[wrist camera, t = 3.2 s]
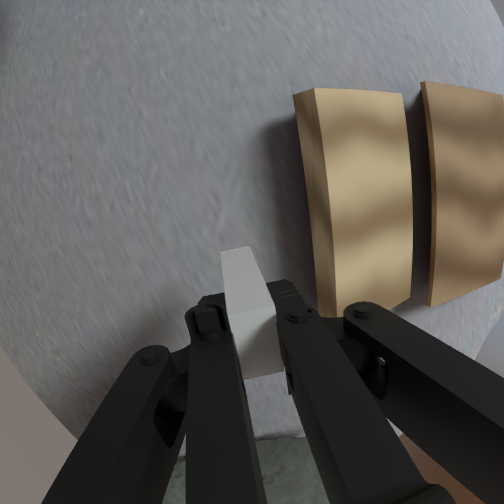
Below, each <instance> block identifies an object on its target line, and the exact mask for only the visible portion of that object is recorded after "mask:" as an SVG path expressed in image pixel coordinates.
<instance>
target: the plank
mask: <svg viewBox="0 0 504 504" xmlns="http://www.w3.org/2000/svg"><path fill="white" fill-rule="evenodd" d="M293 101H294V106H295V113H296V119H297V125H298V131H299V138H300V145H301V152H302V159H303V166H304V173H305V181H306V189H307V197H308V205H309V214H310V223H311V232H312V242H313V253H314V263H315V275H316V287H317V301H318V313H319V314H320V316H321V317H329V318H333V317H343V311H344V309H345V308H346V307H347V306H349V305H350V304H353V303H356V302H362V301H366V302H373V303H375V304H378V305H380V306H381V307H383V308H385V309H387V310H390V309H392V308H393V307H395V306H397V305H398V304H400V303H402V302H403V301H405V300H407V299H408V298H410V290H411V274H412V250H413V206H412V181H411V166H410V154H409V143H408V134H407V126H406V118H405V111H404V104H403V98H402V94H399V93H390V92H380V91H368V90H353V89H329V88H313V89H310V90H307V91H304V92H301V93H298V94H295V95H293Z"/></svg>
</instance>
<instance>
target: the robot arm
mask: <svg viewBox="0 0 504 504" xmlns="http://www.w3.org/2000/svg"><path fill="white" fill-rule="evenodd" d="M220 254H221V264H222V273H223V282H224V291H225V292H224V293H219V294H214V295H208V296H203V297H202V299H201V300H200V301H199V302H198V305H197V306H194V307H192V308H191V309H189V310H188V311H187V312H186V314H185V316H184V317H185V320H186V324H187V327H188V330H189V334H190V337H191V344H190V345H188V346H187V347H185V348H183V349H181V350H178V351H176V352H173V353H170V352H169V350H168V348H166V347H164V346H160V345H153V346H147V347H144V348H142V349H141V350H139V351H137V352H136V353H135V354H134V355H133V356H132V357H131V359H130V360H129V362H128V363H127V365H126V366H125V368H124V370H123V371H122V373H121V374H120V376H119V377H118V379H117V380H116V382H115V383H114V385H113V386H112V388H111V389H110V391H109V393H108V394H107V396H106V397H105V399H104V400H103V402H102V403H101V405H100V407H99V408H98V410H97V411H96V413H95V414H94V416H93V418H92V419H91V421H90V422H89V424H88V426H87V427H86V429H85V430H84V432H83V434H82V435H81V437H80V439H79V440H78V442H77V443H76V445H75V447H74V449H73V450H72V452H71V453H70V455H69V457H68V458H67V460H66V462H65V463H64V465H63V467H62V468H61V470H60V472H59V473H58V475H57V477H56V479H55V480H54V482H53V484H52V486H51V487H50V489H49V491H48V492H47V494H46V496H45V498H44V500H43V501H42V504H162V502H163V499H164V496H165V493H166V490H167V487H168V484H169V481H170V478H171V475H172V472H173V469H174V466H175V463H176V460H177V457H178V454H179V452H180V449H181V446H182V443H183V440H184V437H185V434H186V468H185V498H186V504H268V503H267V498H266V493H265V489H264V484H263V479H262V474H261V469H260V464H259V459H258V454H257V449H256V443H255V438H254V433H253V428H252V422H251V417H250V411H249V406H248V400H247V395H246V389H245V385H244V381H243V380H244V379H249V378H254V377H259V376H263V375H268V374H273V373H277V372H282V371H284V367H285V371H286V378H287V385H288V393H289V395H291V394H292V397H293V400H294V403H295V405H296V408H297V411H298V414H299V417H300V420H301V423H302V426H303V429H304V431H305V434H306V437H307V440H308V443H309V446H310V449H311V452H312V455H313V457H314V460H315V463H316V466H317V469H318V472H319V475H320V477H321V480H322V483H323V486H324V489H325V492H326V494H327V497H328V500H329V503H330V504H456V502H455V501H454V499H453V498H452V496H451V495H450V494H449V492H448V491H447V490H446V489H445V488H444V487H442V486H440V485H439V484H429V483H427V482H426V481H425V480H424V478H423V477H422V475H421V474H420V472H419V470H418V469H417V467H416V465H415V464H414V462H413V461H412V459H411V457H410V456H409V454H408V452H407V451H406V449H405V447H404V446H403V445H402V443H401V441H400V439H399V438H398V436H397V434H396V433H395V431H394V430H393V428H392V426H391V425H390V423H389V422H388V420H387V419H389V420H390V421H391V422H392V423H393V424H394V425H395V426H396V427H397V428H399V429H400V430H401V431H402V432H403V433H404V434H405V435H406V436H407V437H409V438H410V439H411V440H412V441H413V442H414V443H415V444H416V445H418V446H419V447H420V448H421V449H422V450H423V451H424V452H425V453H427V454H428V455H429V456H430V457H432V459H433V460H435V461H436V462H437V463H438V464H439V465H440V466H442V467H443V468H444V469H445V470H446V471H448V473H450V474H451V475H452V476H453V477H454V478H455V479H457V480H458V481H459V482H460V483H461V484H462V485H464V486H465V487H466V488H467V489H468V490H470V491H471V492H472V493H473V494H474V495H475V496H477V497H478V498H479V499H480V500H482V501H483V502H484V503H485V504H504V378H503V377H501V376H499V375H497V374H496V373H494V372H493V371H491V370H489V369H488V368H486V367H484V366H483V365H481V364H479V363H478V362H476V361H474V360H473V359H471V358H469V357H468V356H466V355H464V354H462V353H461V352H459V351H457V350H456V349H454V348H452V347H451V346H449V345H447V344H445V343H444V342H442V341H440V340H439V339H437V338H435V337H434V336H432V335H430V334H428V333H427V332H425V331H423V330H421V329H420V328H418V327H416V326H415V325H413V324H411V323H409V322H408V321H406V320H404V319H402V318H401V317H399V316H397V315H395V314H394V313H392V312H390V311H388V310H387V309H385V308H383V307H381V306H380V305H378V304H375V303H373V302H366V301H362V302H356V303H353V304H350V305H349V306H347V307H346V308H345V309H344V311H343V317H333V318H329V317H321V316H320V314H319V313H318V311H316V310H315V309H314V308H311V307H308V306H307V305H306V304H305V302H304V301H303V299H302V297H301V296H300V294H299V293H298V291H297V290H296V288H295V286H294V285H293V283H291V282H289V281H287V280H285V279H284V280H279V281H274V282H269V283H265V281H264V279H263V277H262V274H261V272H260V270H259V267H258V265H257V263H256V260H255V258H254V256H253V253H252V251H251V249H250V246H247V247H242V248H237V249H231V250H226V251H221V252H220ZM380 357H381V358H382V359H383V360H384V361H385V362H384V361H383V360H381V359H380ZM283 364H284V366H283Z"/></svg>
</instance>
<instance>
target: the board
mask: <svg viewBox="0 0 504 504" xmlns="http://www.w3.org/2000/svg"><path fill="white" fill-rule="evenodd" d="M420 85H421V91H422V97H423V103H424V110H425V117H426V125H427V134H428V144H429V155H430V170H431V194H432V234H431V257H430V272H429V284H428V294H427V303H426V305H427V306H429V307H430V308H431V307H434V306H437V305H439V304H442V303H444V302H447V301H450V300H452V299H455V298H457V297H459V296H462V295H464V294H467V293H469V292H471V291H474V290H476V289H478V288H481V287H483V286H485V285H488V284H490V283H492V282H494V281H496V280H499V279H501V274H502V268H503V261H504V102H503V95H500V94H496V93H492V92H487V91H482V90H477V89H472V88H467V87H461V86H455V85H448V84H441V83H434V82H426V81H425V82H420Z"/></svg>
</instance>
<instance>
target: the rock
mask: <svg viewBox="0 0 504 504" xmlns="http://www.w3.org/2000/svg"><path fill="white" fill-rule="evenodd" d="M255 443H256V449H257V454H258V459H259V464H260V469H261V474H262V479H263V484H264V489H265V493H266V498H267V503H268V504H330V503H329V500H328V497H327V494H326V492H325V489H324V486H323V483H322V480H321V477H320V475H319V472H318V469H317V466H316V463H315V460H314V457H313V455H312V452H311V449H310V446H309V443H308V440H307V437H302V438H296V437H288V436H286V437H280V438H277V439H275V440H259V441H255ZM185 468H186V460H185V461H183V462H180V463H177V464H175V466H174V469H173V472H172V475H171V478H170V481H169V484H168V487H167V490H166V493H165V496H164V499H163V502H162V504H186V498H185Z"/></svg>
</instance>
